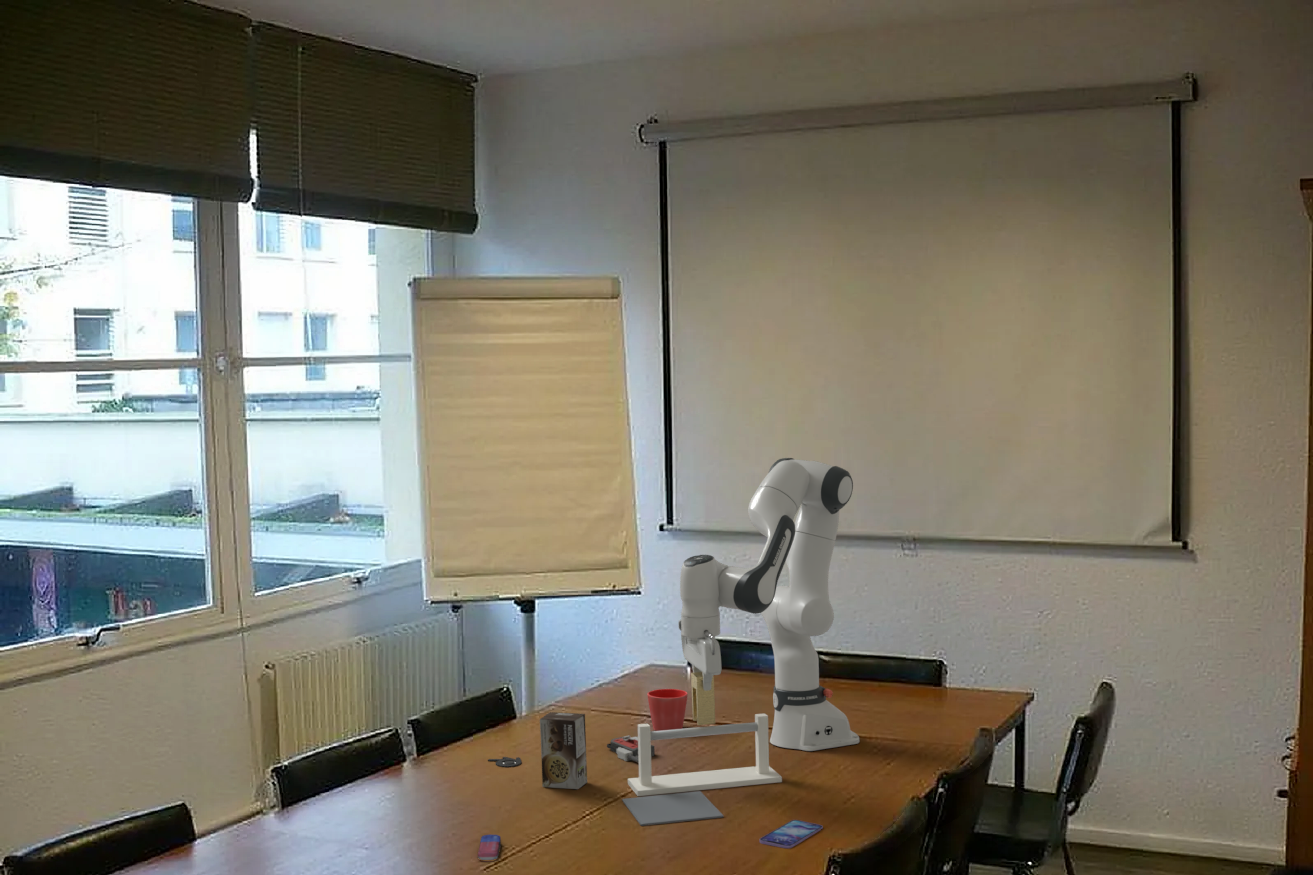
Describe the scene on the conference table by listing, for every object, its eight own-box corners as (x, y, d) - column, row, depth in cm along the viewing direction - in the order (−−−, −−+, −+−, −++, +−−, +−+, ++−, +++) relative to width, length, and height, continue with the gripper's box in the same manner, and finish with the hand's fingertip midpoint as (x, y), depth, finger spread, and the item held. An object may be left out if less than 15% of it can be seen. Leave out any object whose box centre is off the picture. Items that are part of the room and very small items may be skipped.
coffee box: (588, 782, 330) (586, 713, 330) (577, 790, 324) (575, 720, 323) (552, 779, 333) (550, 711, 333) (541, 787, 327) (539, 717, 326)
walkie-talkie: (599, 752, 357) (643, 770, 340) (599, 734, 357) (643, 752, 340) (628, 746, 362) (673, 763, 345) (628, 729, 362) (673, 745, 345)
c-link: (709, 718, 330) (707, 671, 329) (715, 723, 325) (713, 675, 324) (692, 719, 329) (691, 672, 328) (698, 725, 324) (696, 677, 323)
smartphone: (824, 825, 295) (789, 846, 282) (824, 830, 295) (789, 851, 282) (793, 819, 299) (757, 839, 286) (793, 823, 299) (757, 844, 286)
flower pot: (689, 724, 381) (689, 688, 380) (686, 734, 370) (685, 697, 370) (650, 723, 382) (649, 688, 382) (646, 734, 371) (645, 697, 371)
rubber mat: (700, 792, 320) (700, 791, 320) (723, 817, 303) (723, 815, 303) (622, 800, 316) (622, 798, 316) (640, 825, 298) (640, 824, 298)
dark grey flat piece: (482, 763, 349) (482, 760, 349) (506, 757, 355) (506, 754, 355) (507, 770, 343) (507, 767, 343) (531, 763, 348) (531, 760, 348)
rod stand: (768, 770, 337) (766, 709, 336) (781, 782, 327) (780, 719, 326) (627, 783, 328) (626, 721, 328) (637, 796, 319) (636, 731, 318)
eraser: (497, 863, 279) (497, 854, 279) (477, 863, 279) (476, 854, 279) (501, 842, 291) (501, 833, 290) (481, 842, 290) (481, 834, 290)
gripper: (727, 634, 316) (729, 695, 317) (702, 618, 336) (704, 676, 337) (699, 636, 315) (702, 698, 316) (676, 620, 335) (678, 678, 336)
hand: (702, 686), depth 327 cm, fingers closed on c-link, 5 cm apart
